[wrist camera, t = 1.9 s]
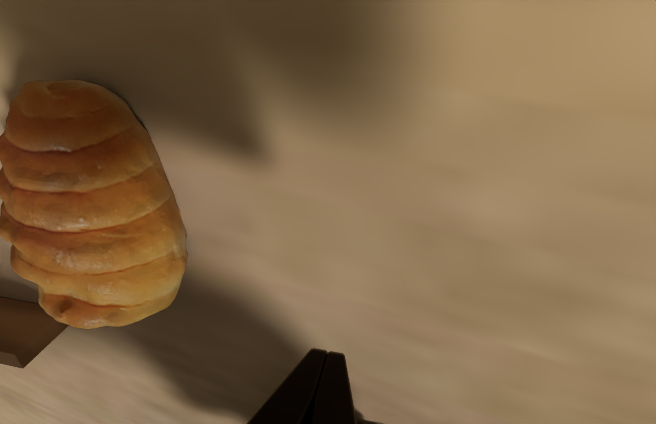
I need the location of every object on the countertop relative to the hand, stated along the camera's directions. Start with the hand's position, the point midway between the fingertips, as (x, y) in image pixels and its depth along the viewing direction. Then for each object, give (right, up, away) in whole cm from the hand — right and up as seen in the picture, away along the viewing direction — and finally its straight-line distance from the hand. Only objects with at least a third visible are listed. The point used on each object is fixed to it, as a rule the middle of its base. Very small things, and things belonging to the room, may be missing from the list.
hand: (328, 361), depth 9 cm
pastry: (-9, +4, +7) cm, 12 cm away
